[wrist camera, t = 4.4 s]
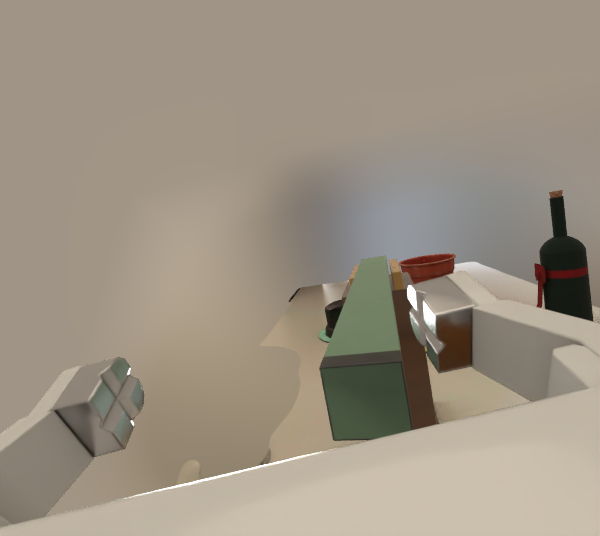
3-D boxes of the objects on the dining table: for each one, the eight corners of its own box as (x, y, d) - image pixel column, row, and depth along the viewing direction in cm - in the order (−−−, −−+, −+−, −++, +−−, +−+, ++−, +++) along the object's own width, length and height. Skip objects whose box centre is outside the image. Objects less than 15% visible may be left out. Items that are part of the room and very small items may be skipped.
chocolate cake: (359, 312, 113) (404, 323, 95) (324, 354, 107) (364, 374, 89) (335, 279, 108) (378, 285, 90) (296, 321, 101) (334, 336, 84)
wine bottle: (529, 328, 77) (513, 198, 73) (580, 323, 74) (567, 188, 71) (546, 341, 69) (530, 196, 66) (603, 336, 67) (590, 185, 63)
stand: (458, 498, 37) (424, 269, 34) (367, 496, 40) (328, 283, 37) (431, 400, 56) (407, 249, 53) (371, 404, 59) (345, 259, 56)
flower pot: (395, 311, 110) (388, 263, 108) (437, 299, 114) (431, 253, 112) (428, 322, 94) (419, 266, 92) (475, 307, 98) (468, 254, 96)
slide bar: (415, 439, 12) (402, 360, 12) (333, 441, 13) (318, 367, 12) (389, 279, 41) (385, 255, 40) (365, 283, 42) (361, 259, 41)
